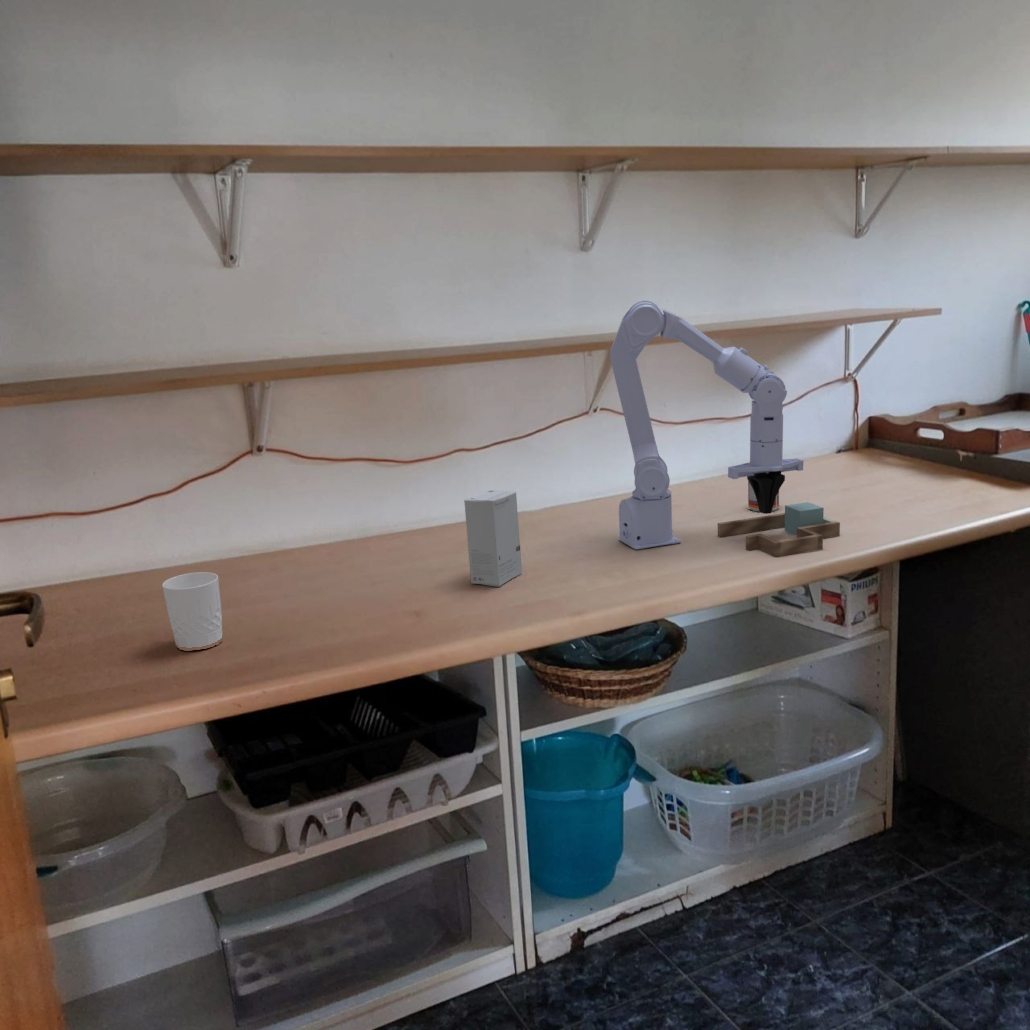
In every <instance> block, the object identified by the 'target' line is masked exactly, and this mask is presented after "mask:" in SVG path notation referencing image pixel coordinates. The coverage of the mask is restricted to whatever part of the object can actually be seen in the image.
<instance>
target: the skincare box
mask: <svg viewBox="0 0 1030 1030" xmlns="http://www.w3.org/2000/svg"><path fill="white" fill-rule="evenodd" d="M463 501H464V511H465V514H464V515H465V523H466V524H465V525H466V536H467V548H468V561H469V573H470V575H469V576H470V583H471V584H474V585H477V584H478V585H483V586H489V587H496V588H499V587H501V586H503V584H506V583H507V582H509V581H511V580H512V579H513V578H515V577H517V576H520V575H522V572H523V570H522V569H523V568H522V553H521V541H520V540H521V539H520V527H519V526H520V525H519V514H518V502H517V492H516V491H512V490H509V491H508V490H488V491H484V492H482V493H478V494H475V495H473V496H471V497H468V498H466V499H464V500H463Z"/></svg>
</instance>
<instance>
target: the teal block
mask: <svg viewBox="0 0 1030 1030" xmlns="http://www.w3.org/2000/svg"><path fill="white" fill-rule="evenodd" d="M824 512H825V511H824V507H823V506H820V505H817V504H814V503H812V502H809V501H807V502H801V503H800V502H799V503H793V504H786V505H784V513H785V527H784V531H785V532H786V533H787V532H788V533H790V534H791V535H794V536H796V537H797V528H798V527H805V526H811V525H817V524H823V517H824V514H825V513H824Z"/></svg>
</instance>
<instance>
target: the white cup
mask: <svg viewBox="0 0 1030 1030" xmlns="http://www.w3.org/2000/svg"><path fill="white" fill-rule="evenodd" d="M161 586H162V591H163V595H164V600H165V605H166V609H167V614H168V619H169V622H170V628H171V630H172V632H173V638H174V642H175V646H176V645H178V646H179V647H186V648H192V647H202V646H206V645H210V644H212V643H215V642H217V641H218V640H220V639H221V638H222V635H223V636H224V634H223V626H222V625H223V618H222V615H223V614H222V613H223V612H222V603H221V593H220V582H219V575H218V574H216V573H214V572H207V571H206V572H205V571H202V572H201V571H199V572H189V573H183V574H180V575H176V576H173V577H171V578H170V577H169V578H167V579H166V580H164V581H163V582H162V585H161Z"/></svg>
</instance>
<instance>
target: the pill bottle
mask: <svg viewBox="0 0 1030 1030" xmlns="http://www.w3.org/2000/svg"><path fill="white" fill-rule="evenodd" d="M747 481H748V480H747ZM747 485H748V496H747V497H748V498H747V501H748V502H747V503H748V509H749V510H750V511H754V512H759V507H758V503H757V499H756V496H755V493H754V491H753V488H752V486H751V484H750V482H749V481H748V484H747ZM779 507H780V490H779V491H778V493H777V496H776V498H775V501H774V505H773V508H772V512H774V511H777V510H778V509H779ZM759 513H760V512H759Z"/></svg>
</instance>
